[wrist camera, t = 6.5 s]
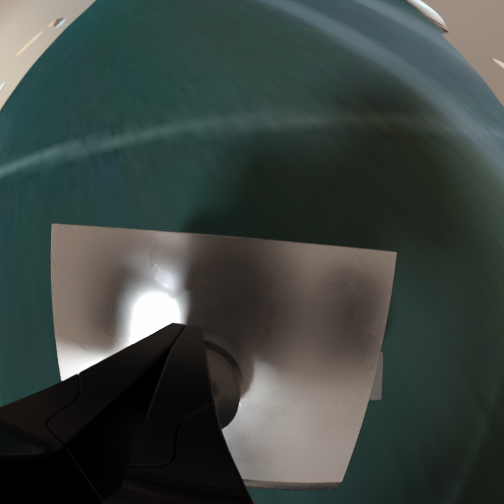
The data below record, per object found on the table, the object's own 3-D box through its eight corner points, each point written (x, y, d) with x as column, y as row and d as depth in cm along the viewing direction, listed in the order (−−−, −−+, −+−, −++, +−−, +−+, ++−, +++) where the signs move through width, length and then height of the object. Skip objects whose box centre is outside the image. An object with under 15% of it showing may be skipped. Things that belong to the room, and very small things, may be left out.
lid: (335, 481, 11) (341, 510, 9) (83, 440, 11) (65, 461, 10) (389, 250, 10) (412, 256, 8) (62, 223, 10) (31, 224, 9)
